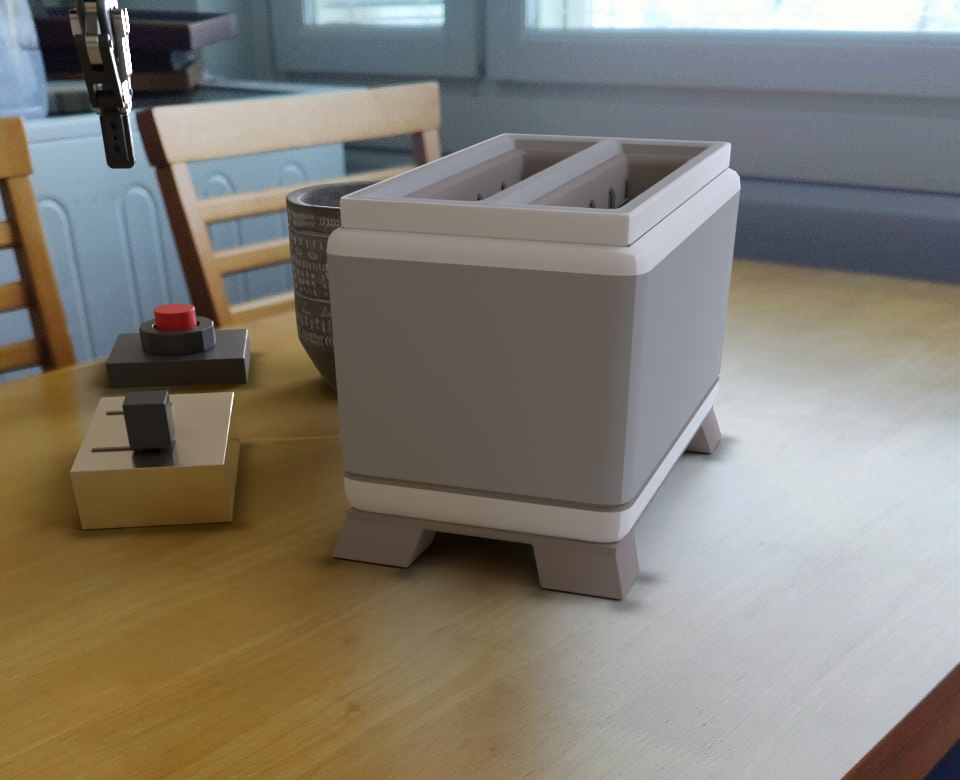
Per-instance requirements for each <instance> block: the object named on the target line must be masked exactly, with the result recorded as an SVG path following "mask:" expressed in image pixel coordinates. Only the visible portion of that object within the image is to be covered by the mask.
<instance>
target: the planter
mask: <svg viewBox="0 0 960 780" xmlns="http://www.w3.org/2000/svg"><path fill="white" fill-rule="evenodd" d="M383 180H384V179H371V180H369V179H367V180H354V181H353V180H352V181H342V182H331V183H322V184H313V185H309V186H305V187H301V188H298V189H296V190H293V191H291V192H289V193H288V194H287V195H286V196H285V205H286V215H287V223H288V227H287V228H288V242H289V243H288V244H289V255H290V256H289V257H290V266H291V274H292V275H291V276H292V282H293V283H292V284H293V288H294V289H293V295H294V299H293V300H294V312H295V323H296V331H297V338H298V340H299V342H300V344H301V346H302V348H303V349H304V351H305V353H306V354H307V356H308V357H309V359H310V360H311V362H312V364H313V365H314V367H315V368H316V369H317V371H318V372H319V375H320V376H321V377H322V378H323V379H324V381H325V382H326V384H327V385H328V386H329V388H330V389H332V390H334V391H336V392H337V381H336V368H335V355H334V342H333V329H332V316H331V303H330V290H329V277H328V264H327V251H326V250H327V243H328V238H329V236H330V235H331V233H332V232H333V231H334V230H336V229H337V228H340V227H342V226H341V213H340V199H341V197H343V196H345V195H348V194H350V193H353V192H355V191H358V190H360V189H363V188H366V187H368V186H371V185H373V184H376V183H378V182H381V181H383Z"/></svg>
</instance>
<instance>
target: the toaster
mask: <svg viewBox="0 0 960 780" xmlns="http://www.w3.org/2000/svg"><path fill="white" fill-rule="evenodd" d="M731 151H732V144H731V142H729V141H728V142H727V141H710V140H709V141H708V140H707V141H706V140H704V141H703V140H682V139H656V138H655V139H654V138H631V137H630V138H629V137H608V136H581V135H557V134H556V135H554V134H531V133H530V134H529V133H508V132H507V133H501V134H498V135H496V136H494V137H491V138H488V139H486V140H483V141H480V142H478V143H475V144H473V145H471V146H467V147H466V148H462V149H461V150H457V151H455V152H452V153H450V154H448V155H445V156H442V157H439V158H437V159H435V160H432V161H429V162H426V163H424V164H422V165H419V166H417V167H414V168H412V169H409V170H407V171H404V172H402V173H401V172H400V173H399V174H396V175H394V176H391V177H389V178H386V179H382V180H383V181H381V182H378V183H376V184H373V185H371V186H368V187H366V188H363V189H360V190H358V191H355V192H353V193H350V194H348V195H345V196H343V197H341V199H340V213H341V226H342V227H340V228H337V229H336V230H334V231H333V232H332V233H331V235H330V236H329V238H328V243H327V250H326V251H327V264H328V277H329V290H330V303H331V316H332V329H333V342H334V355H335V368H336V381H337V391H336V393H337V406H338V420H339V432H340V446H341V460H342V468H343V470H344V472H343V484H344V491H345V496H346V499H347V503H348V504H349V505H350V506H351V507H350V508H348V510H347V511H346V519H345V522H344V524H343V527H342V528H341V529H342V530H341V533H340V535H339V538H338V540H337V544H336V546H335V549H334V551H333V555H332V557H333V558H335V559H336V558H337V559H343V560H349V561H350V560H351V561H358V562H364V563H372V564H378V565H385V566H392V567H400V568H409V567H410V566H411V565H412V564H413V562H415V560H416V559H418V557H419V556H421V554H422V553H423V552H424V551H425V550H426V549H427V548H428V547H429V546H430V545H431V544H432V542H433V540H434V538H435V535H436V533H437V532H440V533H446V534H447V533H448V534H455V535H462V536H467V537H468V536H469V537H477V538H483V539H492V540H497V541H498V540H499V541H505V542H513V543H520V544H528V545H531V546H532V548H533V549H532V550H533V553H534V558H535V563H536V569H537V570H536V571H537V575H538V580H539V585H540V587H541V589H542V588H543V589H549V590H555V591H561V592H569V593H575V594H582V595H588V596H595V597H602V598H609V599H614V600H624V599H625V598H626V596H627V595H628V593H629V591H630V589H631V587H632V586H633V584H634V583H635V581H636V579H637V578H638V576H639V574H640V571H641V570H640V565H639V557H638V553H637V552H638V551H637V547H636V540H635V535H634V530H635V528H636V526H637V524H638V522H639V521H640V520H641V518H642V517H643V515H644V514H645V512H646V510H647V509H648V507H649V506H650V504H651V503H652V501H653V500H654V498H655V497H656V495H657V494H658V493H659V491H660V489H661V488H662V486H663V484H665V481H666V480H667V478H668V477H669V476H670V474H671V472H672V471H673V470H674V469H675V466H676V465H677V464H678V462H679V461H680V459H681V457H683V454H684V453H685V451H686V452H694V453H703V454H704V453H705V454H713V452H714V451H715V449H716V447H717V445H718V444H719V442H720V440H721V438H722V437H723V436H722V432H721V430H720V429H721V428H720V426H719V423H718V419H717V417H716V413H715V410H714V404H715V403H716V400H717V397H718V393H719V387H720V378H721V377H720V374H721V369H722V361H723V360H722V359H723V350H724V343H725V342H724V341H725V332H726V325H727V324H726V323H727V316H728V315H727V313H728V306H729V296H730V286H731V277H732V271H733V269H732V268H733V260H734V251H735V241H736V233H737V223H738V213H739V204H740V197H741V178H740V175H739V174H738V172H737V171H736V170H734V169H731V168H730V161H731Z"/></svg>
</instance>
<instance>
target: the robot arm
mask: <svg viewBox="0 0 960 780" xmlns="http://www.w3.org/2000/svg"><path fill="white" fill-rule="evenodd" d="M68 15H69V23H70V28H71V33H72V36H73V37H74V40H73V45H74V48H75V49H76V53H77V56H78V60H79V64H80V67H81V72H82V77H83V78H84V82H85V86H86V90H87V93H88V101H89V103H90V105H91V107H92V109H93V110H94V111H95V114H96V115H97V116H98V118H99V125H100V130H101V136H102V142H103V149H104V156H105V162H106V165H107V166H108V168H110V169H112V170H113V169H114V170H124V169H125V170H127V169H129V170H130V169H132V168H133V167H134V166H135V165H136V163H137V158H136V157H137V156H136V151H135V144H134V137H133V131H132V124H131V116H130V113H131V110H132V109H131V108H133V107H132V105H133V104H132V99H133V93H134V92H133V89H132V84H131V76H132V75H133V69H132V62H131V53H130V46H129V34H130V23H129V15H128V11H127V7H119V3H118V0H75V7H74V8H73V9H69V10H68Z"/></svg>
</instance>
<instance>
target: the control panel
mask: <svg viewBox="0 0 960 780" xmlns="http://www.w3.org/2000/svg"><path fill="white" fill-rule="evenodd" d="M125 397H126V396H105V397H104V396H103V397H101V398H100V400H99V402H98V404H97V407H96V409H95V411H94V414H93V416H92V419H91V421H90V423H89V426H88V428H87V431H86V433H85V435H84V437H83V440H82V443H81V445H80V447H79V449H78V452H77V454H76V457H75V458H74V461H73V464H72V466H71V469H70V471H69V475H70V478H71V483H72V487H73V492H74V497H75V501H76V506H77V511H78V515H79V520H80V524H81V525H80V526H81V529H82V530H100V529H101V530H102V529H119V528H121V529H123V528H138V527H141V528H142V527H157V526H176V525H177V526H178V525H179V526H180V525H197V524H198V525H199V524H215V523H230V522H232V521H233V512H234V504H235V497H236V496H235V495H236V487H237V478H238V470H239V469H238V468H239V458H240V451H241V437H240V436H241V435H240V431H239V430H240V429H239V422H238V414H237V406H236V399H235V398H236V397H235V392H234V391H225V392H223V391H222V392H221V391H220V392H202V393H201V392H198V393H176V394H175V393H173V394H169V397H170V403H171V410H172V416H173V422H174V428H175V436H174V440H173V444H172V448H159V449H138V450H131V449H130V446H129V440H128V435H127V430H126V424H125V419H124V413H123V408H122V405H123V402H124V399H125Z"/></svg>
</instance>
